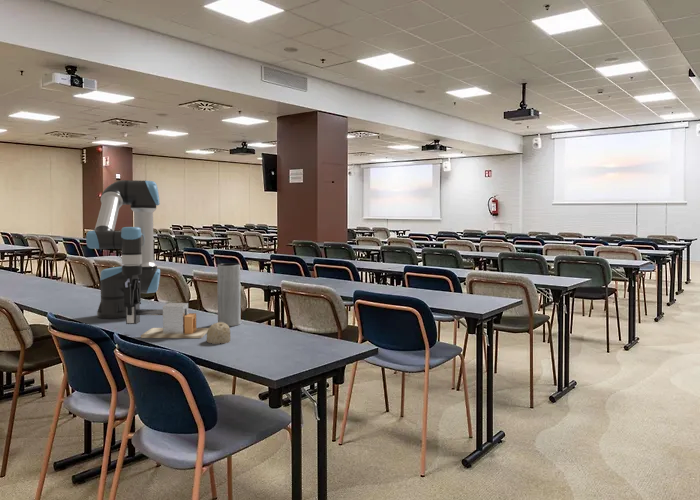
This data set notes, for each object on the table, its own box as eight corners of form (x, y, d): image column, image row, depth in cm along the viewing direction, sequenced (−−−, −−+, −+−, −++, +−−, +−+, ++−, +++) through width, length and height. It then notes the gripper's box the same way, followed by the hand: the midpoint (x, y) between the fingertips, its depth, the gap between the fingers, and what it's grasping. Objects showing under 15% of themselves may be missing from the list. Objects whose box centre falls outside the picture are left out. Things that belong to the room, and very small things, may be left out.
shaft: (126, 324, 222) (125, 304, 222) (130, 321, 227) (129, 302, 226) (180, 324, 223) (180, 304, 222) (183, 322, 227) (183, 303, 227)
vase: (239, 321, 252) (238, 263, 250) (241, 325, 243) (241, 265, 241) (216, 322, 249) (216, 263, 247) (218, 327, 240) (218, 265, 238)
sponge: (231, 351, 214) (238, 328, 219) (220, 342, 206) (228, 318, 211) (210, 349, 217) (218, 326, 222) (199, 340, 209) (207, 316, 214)
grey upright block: (163, 333, 221) (162, 306, 220) (169, 329, 229) (168, 303, 228) (183, 333, 221) (182, 306, 221) (188, 329, 229) (188, 303, 229)
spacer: (184, 333, 222) (184, 316, 221) (189, 329, 229) (189, 313, 228) (192, 333, 222) (191, 316, 221) (196, 329, 229) (196, 313, 228)
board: (140, 337, 218) (140, 335, 218) (152, 330, 232) (152, 327, 232) (201, 338, 219) (201, 335, 219) (209, 330, 233) (209, 328, 233)
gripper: (130, 262, 231) (131, 317, 233) (114, 267, 214) (115, 325, 216) (148, 262, 232) (149, 317, 233) (133, 267, 214) (134, 326, 216)
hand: (133, 321), depth 224 cm, fingers closed on shaft, 4 cm apart
